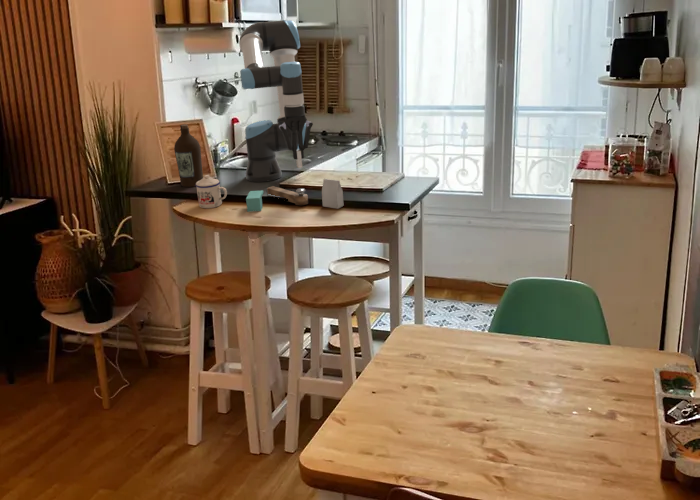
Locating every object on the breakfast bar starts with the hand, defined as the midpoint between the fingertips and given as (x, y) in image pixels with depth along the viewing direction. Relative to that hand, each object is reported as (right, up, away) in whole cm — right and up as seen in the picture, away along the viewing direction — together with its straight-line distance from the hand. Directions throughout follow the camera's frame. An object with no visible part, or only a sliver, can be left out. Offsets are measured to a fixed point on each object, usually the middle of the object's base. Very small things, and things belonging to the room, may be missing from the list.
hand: (299, 167), depth 286 cm
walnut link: (-4, -12, 0) cm, 13 cm away
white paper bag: (+13, -16, -10) cm, 23 cm away
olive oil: (-47, -4, +30) cm, 56 cm away
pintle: (+1, -11, -7) cm, 13 cm away
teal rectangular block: (-16, -16, -7) cm, 23 cm away
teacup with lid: (-33, -15, 0) cm, 36 cm away
